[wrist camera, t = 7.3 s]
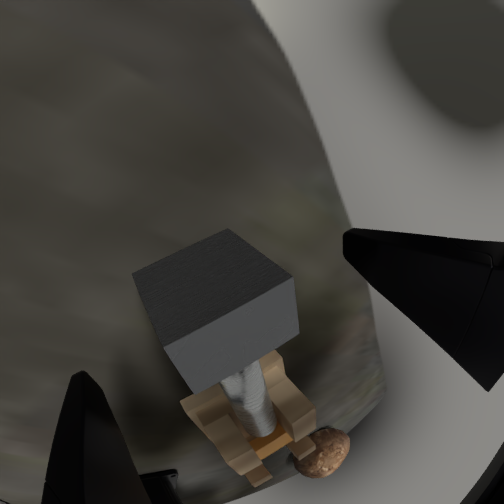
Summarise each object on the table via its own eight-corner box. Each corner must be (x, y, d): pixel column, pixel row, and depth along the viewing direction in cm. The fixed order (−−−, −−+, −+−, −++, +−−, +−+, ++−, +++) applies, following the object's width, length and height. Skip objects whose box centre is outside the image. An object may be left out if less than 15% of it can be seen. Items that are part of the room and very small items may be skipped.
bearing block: (286, 409, 24) (320, 446, 20) (221, 448, 22) (250, 490, 18) (273, 347, 19) (322, 398, 15) (179, 401, 16) (215, 465, 12)
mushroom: (336, 455, 35) (354, 476, 29) (285, 466, 34) (298, 491, 27) (340, 413, 35) (360, 431, 29) (286, 423, 34) (299, 446, 28)
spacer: (275, 413, 21) (296, 437, 19) (233, 438, 20) (252, 465, 17) (271, 400, 20) (294, 427, 17) (225, 427, 18) (245, 457, 16)
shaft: (269, 384, 18) (307, 427, 15) (216, 415, 16) (249, 464, 13) (228, 228, 11) (293, 276, 8) (131, 273, 10) (163, 347, 7)
